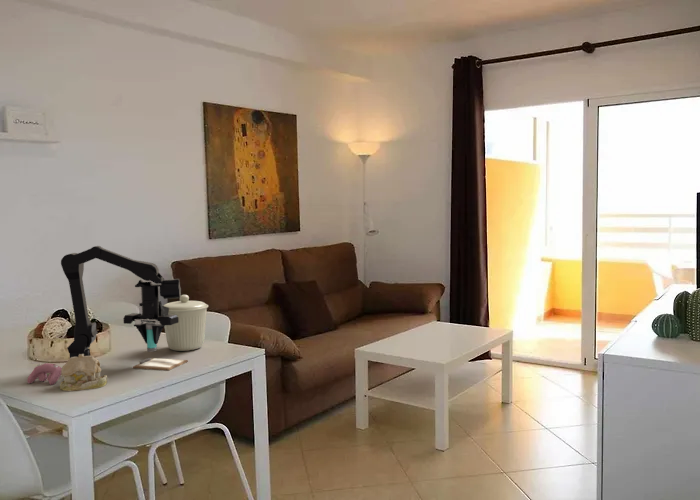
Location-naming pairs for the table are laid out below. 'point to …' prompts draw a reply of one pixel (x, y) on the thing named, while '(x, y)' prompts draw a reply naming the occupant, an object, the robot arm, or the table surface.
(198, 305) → the canister
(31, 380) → the pink lumpy arch
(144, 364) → the clipboard
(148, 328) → the marker
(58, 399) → the table surface
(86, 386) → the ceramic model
